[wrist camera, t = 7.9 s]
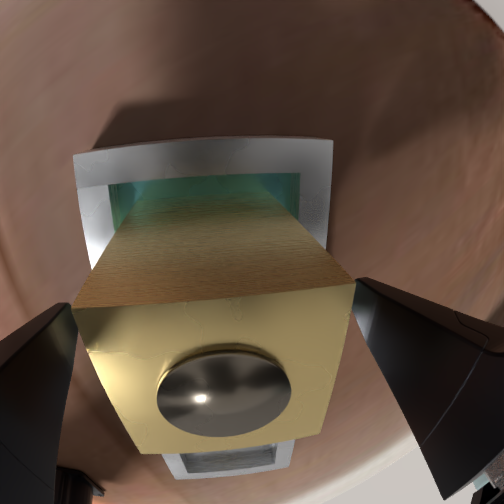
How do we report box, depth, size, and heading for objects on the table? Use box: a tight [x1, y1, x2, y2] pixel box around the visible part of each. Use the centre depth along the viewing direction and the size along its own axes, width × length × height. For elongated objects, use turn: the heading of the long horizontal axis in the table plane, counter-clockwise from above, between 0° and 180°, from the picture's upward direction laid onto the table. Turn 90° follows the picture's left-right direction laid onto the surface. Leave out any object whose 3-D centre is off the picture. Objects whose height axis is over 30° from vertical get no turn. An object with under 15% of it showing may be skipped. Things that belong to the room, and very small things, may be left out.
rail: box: [73, 136, 333, 479], centre depth 15 cm, size 23×9×2 cm, turn 0°
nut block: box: [71, 192, 356, 454], centre depth 9 cm, size 5×5×7 cm
